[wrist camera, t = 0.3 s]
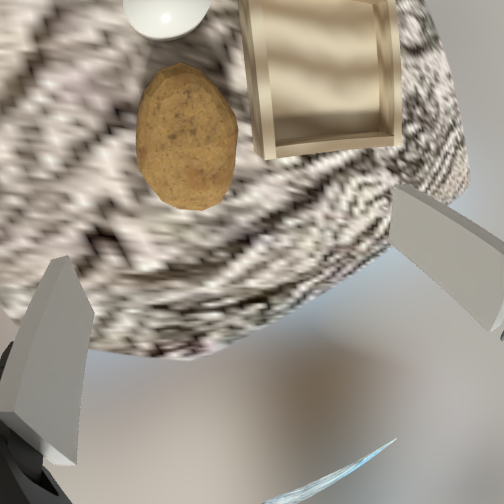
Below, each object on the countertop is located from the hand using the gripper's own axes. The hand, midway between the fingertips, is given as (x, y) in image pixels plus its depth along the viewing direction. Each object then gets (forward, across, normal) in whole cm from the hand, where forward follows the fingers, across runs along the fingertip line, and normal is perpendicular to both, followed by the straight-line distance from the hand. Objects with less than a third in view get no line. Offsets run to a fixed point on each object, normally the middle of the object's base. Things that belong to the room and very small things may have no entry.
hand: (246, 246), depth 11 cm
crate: (+23, +15, +7) cm, 29 cm away
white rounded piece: (+23, -1, +16) cm, 28 cm away
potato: (+24, -1, +2) cm, 24 cm away
